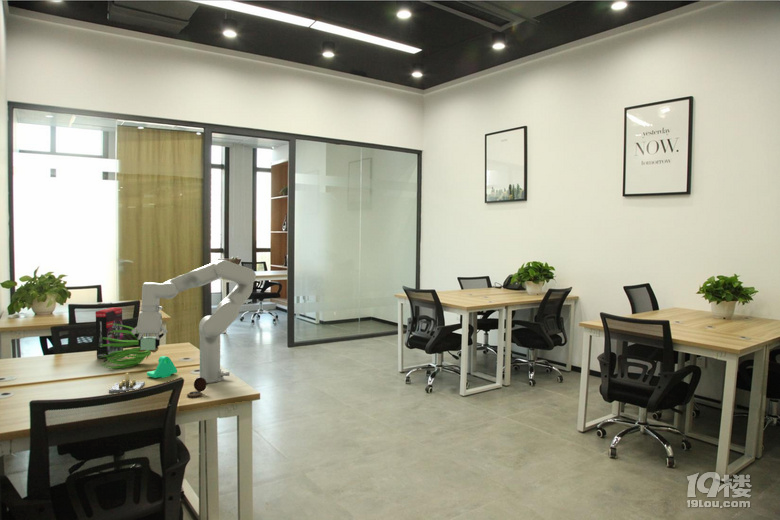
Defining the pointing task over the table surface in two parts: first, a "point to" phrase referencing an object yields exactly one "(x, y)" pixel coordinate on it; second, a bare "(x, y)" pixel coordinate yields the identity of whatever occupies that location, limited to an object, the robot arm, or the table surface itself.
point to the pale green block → (148, 343)
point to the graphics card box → (108, 330)
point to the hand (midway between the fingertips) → (148, 347)
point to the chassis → (126, 385)
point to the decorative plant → (126, 351)
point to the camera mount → (163, 368)
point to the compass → (198, 388)
